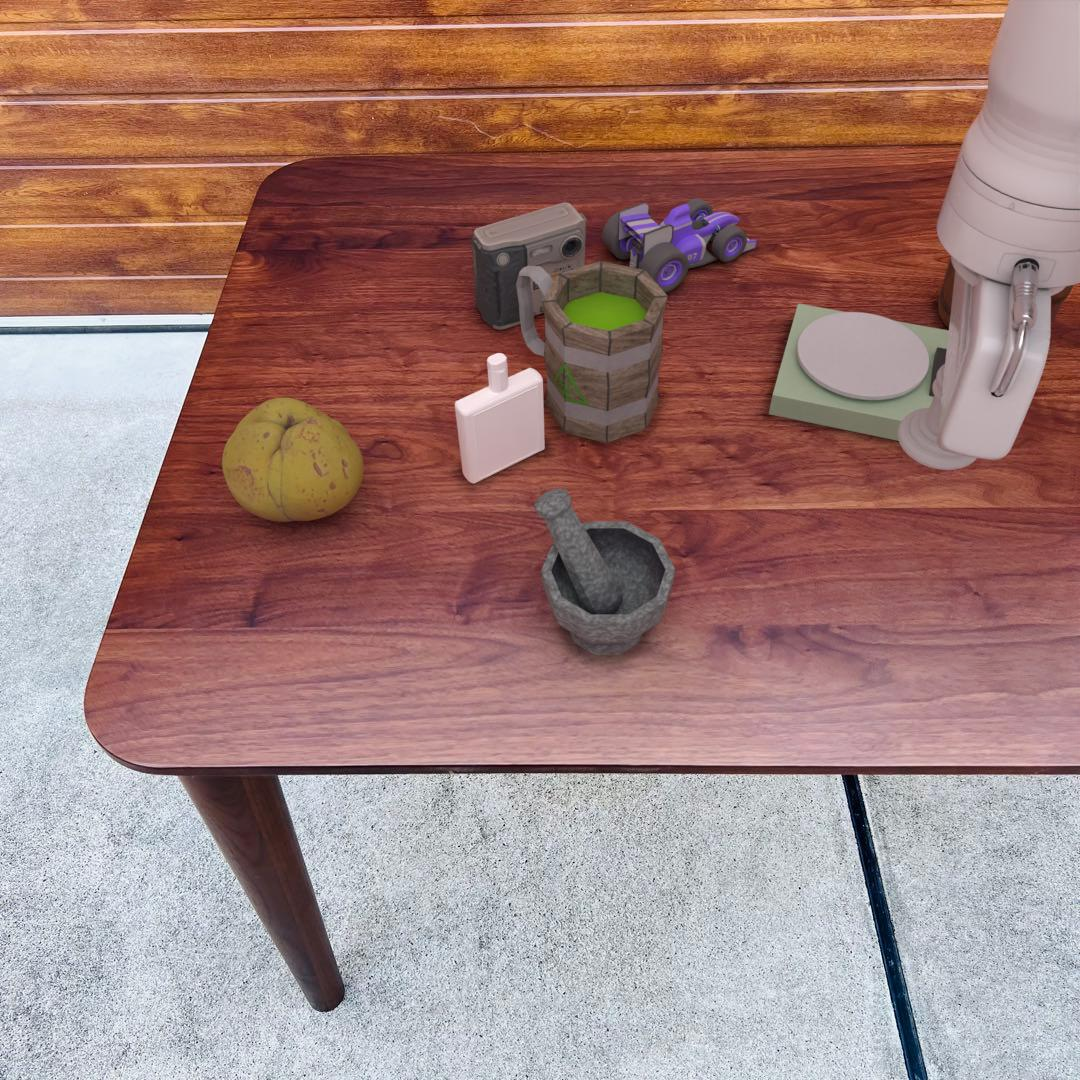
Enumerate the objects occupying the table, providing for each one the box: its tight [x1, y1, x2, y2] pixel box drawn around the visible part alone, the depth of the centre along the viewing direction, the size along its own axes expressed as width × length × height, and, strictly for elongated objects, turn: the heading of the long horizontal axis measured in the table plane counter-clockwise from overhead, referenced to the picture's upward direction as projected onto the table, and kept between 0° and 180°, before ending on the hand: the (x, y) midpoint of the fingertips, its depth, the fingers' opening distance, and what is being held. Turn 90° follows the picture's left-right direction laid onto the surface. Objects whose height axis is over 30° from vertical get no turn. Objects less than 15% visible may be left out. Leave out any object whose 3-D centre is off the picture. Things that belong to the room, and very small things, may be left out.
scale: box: [768, 303, 949, 442], centre depth 95 cm, size 15×14×4 cm
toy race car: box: [601, 197, 758, 294], centre depth 107 cm, size 10×15×6 cm, turn 120°
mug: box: [516, 260, 669, 444], centre depth 92 cm, size 16×11×12 cm
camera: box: [470, 202, 588, 331], centre depth 101 cm, size 11×6×10 cm, turn 114°
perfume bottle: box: [454, 352, 546, 485], centre depth 86 cm, size 8×2×12 cm, turn 123°
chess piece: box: [898, 364, 978, 471], centre depth 63 cm, size 5×5×9 cm
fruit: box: [221, 397, 365, 523], centre depth 84 cm, size 11×12×10 cm
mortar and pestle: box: [533, 488, 676, 656], centre depth 75 cm, size 11×9×12 cm
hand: (953, 405), depth 64 cm, fingers closed on chess piece, 3 cm apart
